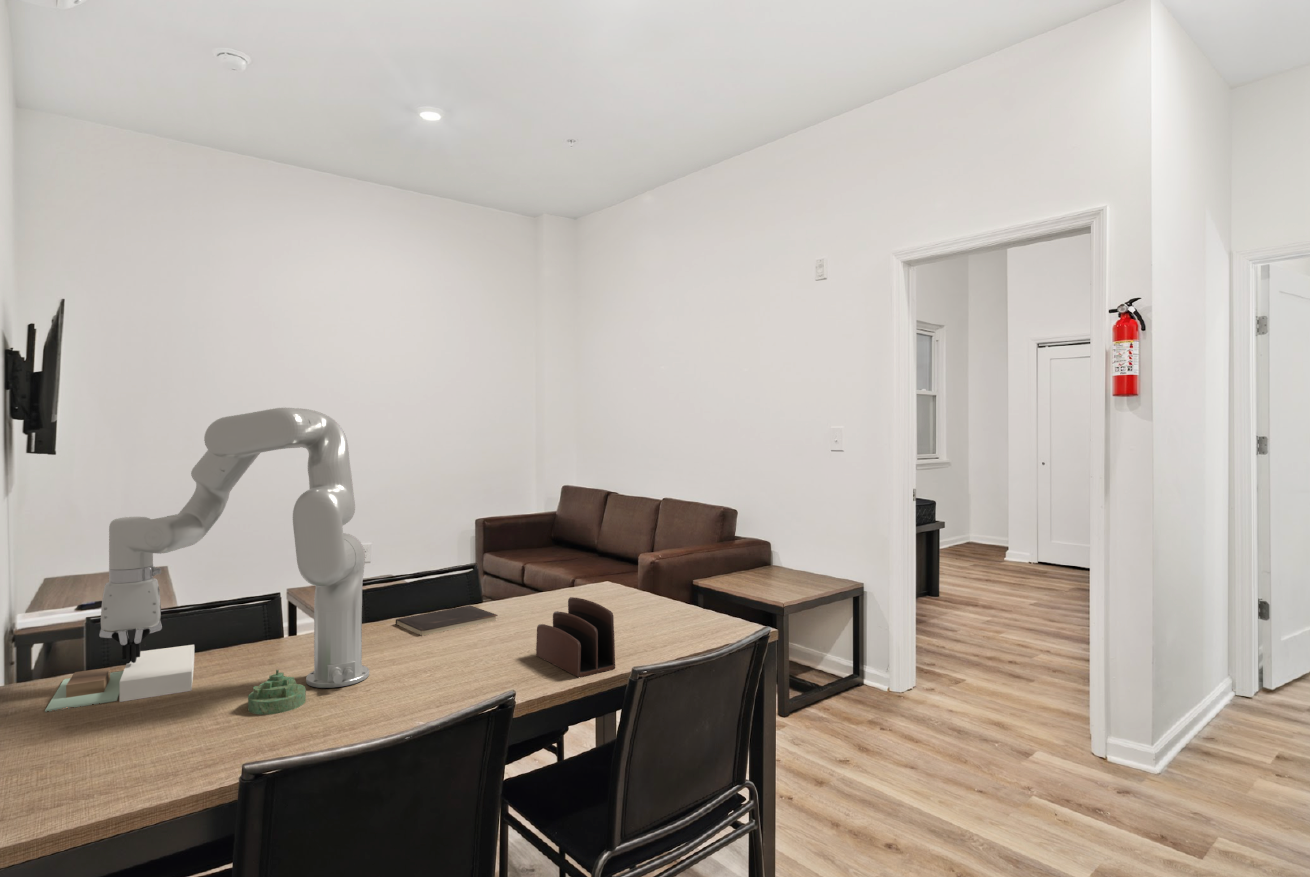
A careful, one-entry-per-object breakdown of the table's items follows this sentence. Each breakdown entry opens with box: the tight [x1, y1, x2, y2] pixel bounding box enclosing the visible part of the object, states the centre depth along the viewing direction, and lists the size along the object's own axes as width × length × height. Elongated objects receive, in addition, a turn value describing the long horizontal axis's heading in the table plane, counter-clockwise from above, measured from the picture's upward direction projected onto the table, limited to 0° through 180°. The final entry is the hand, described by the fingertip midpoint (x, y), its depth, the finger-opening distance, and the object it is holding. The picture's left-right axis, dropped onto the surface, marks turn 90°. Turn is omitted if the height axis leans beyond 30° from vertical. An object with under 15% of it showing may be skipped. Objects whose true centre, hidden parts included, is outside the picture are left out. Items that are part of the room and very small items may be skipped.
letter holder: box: [535, 596, 616, 678], centre depth 166 cm, size 10×20×14 cm, turn 38°
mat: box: [44, 670, 124, 713], centre depth 147 cm, size 20×11×1 cm, turn 32°
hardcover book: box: [395, 604, 498, 637], centre depth 201 cm, size 16×23×2 cm
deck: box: [119, 644, 195, 703], centre depth 153 cm, size 22×12×4 cm, turn 32°
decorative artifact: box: [247, 669, 307, 716], centre depth 140 cm, size 10×7×10 cm
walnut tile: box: [66, 667, 111, 698], centre depth 147 cm, size 9×6×2 cm, turn 31°
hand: (131, 661), depth 150 cm, fingers closed
